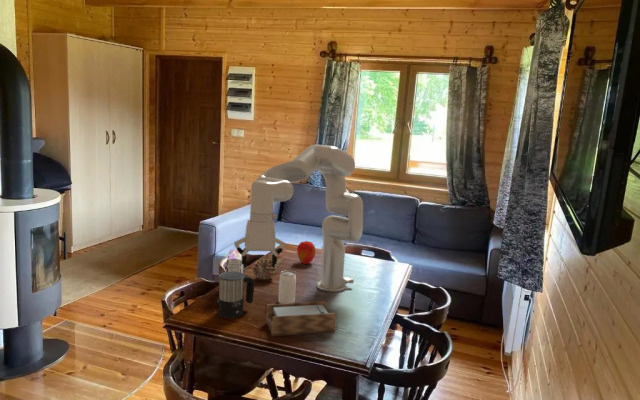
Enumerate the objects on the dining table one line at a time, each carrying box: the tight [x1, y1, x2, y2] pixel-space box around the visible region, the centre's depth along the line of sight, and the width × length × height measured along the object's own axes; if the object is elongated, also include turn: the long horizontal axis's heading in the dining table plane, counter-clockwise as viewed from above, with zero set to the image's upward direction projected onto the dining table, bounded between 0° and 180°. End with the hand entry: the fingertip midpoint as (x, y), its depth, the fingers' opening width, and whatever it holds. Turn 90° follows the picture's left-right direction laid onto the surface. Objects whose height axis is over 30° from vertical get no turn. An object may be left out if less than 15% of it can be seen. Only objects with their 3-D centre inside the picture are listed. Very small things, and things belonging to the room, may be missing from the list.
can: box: [278, 270, 297, 304], centre depth 193 cm, size 6×6×12 cm
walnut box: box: [266, 300, 337, 337], centre depth 171 cm, size 22×11×7 cm, turn 106°
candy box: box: [226, 248, 244, 274], centre depth 199 cm, size 14×6×16 cm, turn 5°
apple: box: [297, 240, 317, 265], centre depth 244 cm, size 9×9×12 cm
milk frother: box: [216, 271, 255, 319], centre depth 182 cm, size 14×16×15 cm
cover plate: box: [273, 305, 329, 316], centre depth 171 cm, size 18×9×2 cm, turn 106°
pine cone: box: [252, 258, 283, 281], centre depth 221 cm, size 22×10×10 cm, turn 161°
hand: (259, 266), depth 167 cm, fingers open, 9 cm apart
